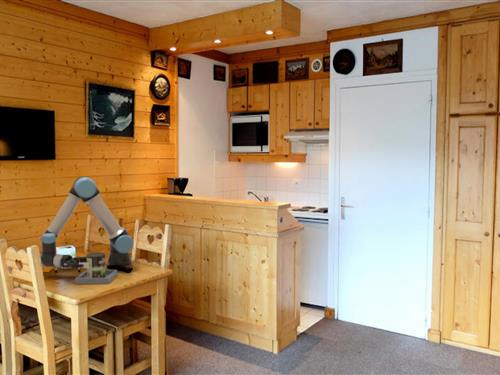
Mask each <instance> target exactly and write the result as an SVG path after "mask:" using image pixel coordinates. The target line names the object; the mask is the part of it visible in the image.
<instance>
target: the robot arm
mask: <svg viewBox="0 0 500 375" xmlns="http://www.w3.org/2000/svg"><path fill="white" fill-rule="evenodd" d="M81 201H82V203H83V204H87V205H88V207H89V208H90V210H91V211H92V213H93V214H94V216H95V217H96V218H97V220H98V221H99V223H100V224H101V226H102V227H103V229H104V230H105V231H106V233H107V234H108V237H107V238H108V241H109V255H108V258H107V265H108V266H109V265H121V266H120V267H122V266H123V267H124V266H128V265H130V264H132V259H131V256H130V251H131V250H132V249H133V247H134V244H135V243H134V239H133V238H132V237H131V236H130V234H129V230H128V229H127V228H125V227H122V226H120V225H121V224H119V223H118V221H117V220H116V218H115V216H114V215H113V213H112V212H111V211H110V209H109V207H108V206H107V204H106V203H105V202H104V200H103V199H102V198H101V191H100V190H99V188H98V187H97V185H96V182H95V181H94V180H93V179H92V178H89V177H86V176H80V177H77V178H76V179H75V180H74V182H73V184H72V186H71V188H70V190H69V191H68V195H67V198H66V199H65V200H64V202H63V204H62V205H61V207H60V209H59V210H58V212H57V213H56V214H55V216H54V218H53V219H52V221H51V223H50V224H49V226H48V227H47V228H46V231H45V232H44V233H43V234H42V235H41V237H40V242H41V250H42V253H39V255H40V258H41V264H42V266H41V267H49V268H50V267H52V268H58V269H60V268H67V269H68V268H71V269H75V270H79V269H80V268H81V269H87V268H90V265H89V263H87V256H76V257H73V256H72V255H71V254H63V253H62V254H60V253H57V248H56V246H57V244H56V243H57V241H56V240H57V237H58V236H59V235H60V233H61V232H62V230H63V228H64V227H65V225H66V224H67V223H68V221H69V220H70V218H71V216H72V215H73V213H74V212H75V209H76V208H77V206H78V205H79V203H80V202H81Z"/></svg>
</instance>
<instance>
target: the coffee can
mask: <svg viewBox="0 0 500 375" xmlns="http://www.w3.org/2000/svg"><path fill="white" fill-rule="evenodd" d="M85 255H86V256H85V257H87V262H86V263H89V265H90V268H86V270H87V278H106V277H105V270H106V253H103V252H93V253H92V252H91V253H88V254H85Z"/></svg>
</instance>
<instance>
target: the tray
mask: <svg viewBox="0 0 500 375" xmlns="http://www.w3.org/2000/svg"><path fill="white" fill-rule="evenodd" d="M117 276H118V270H117V269H105V277H106V278H87V269H86V270H84V271H83V272H81V274H80V275H78V276H77V277H75V279H74V281H75V285H109V284H110V283H111V282H112V281H113V280H115V278H116V277H117Z"/></svg>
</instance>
